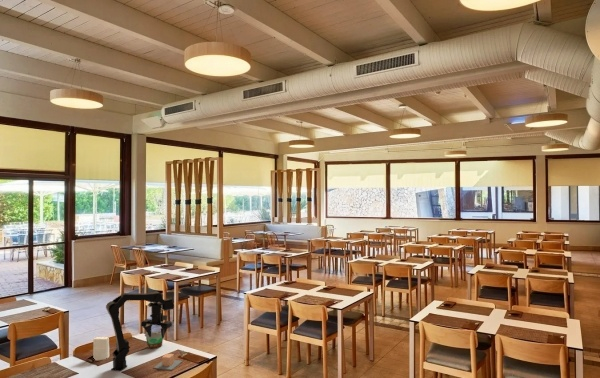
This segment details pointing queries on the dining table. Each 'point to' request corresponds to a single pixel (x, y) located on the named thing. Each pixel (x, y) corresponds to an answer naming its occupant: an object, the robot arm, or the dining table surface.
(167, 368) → the place mat
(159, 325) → the robot arm
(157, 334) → the food container
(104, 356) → the white upright block
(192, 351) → the dining table surface
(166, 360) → the terracotta cube
